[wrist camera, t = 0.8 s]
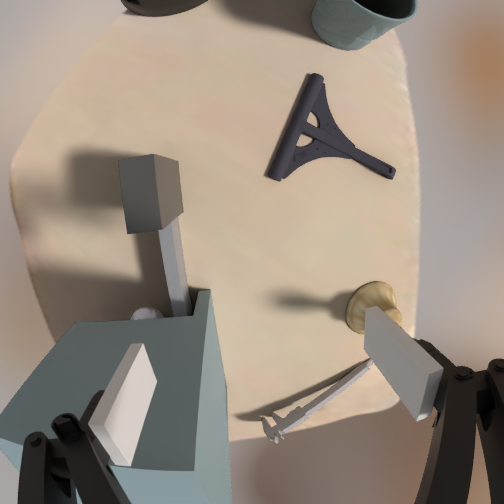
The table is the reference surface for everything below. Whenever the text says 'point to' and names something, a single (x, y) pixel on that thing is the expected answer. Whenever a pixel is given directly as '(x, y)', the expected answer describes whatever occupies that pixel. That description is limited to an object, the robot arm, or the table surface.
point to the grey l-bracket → (158, 216)
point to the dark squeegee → (318, 137)
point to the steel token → (146, 313)
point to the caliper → (311, 405)
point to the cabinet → (160, 409)
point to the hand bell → (372, 305)
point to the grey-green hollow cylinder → (358, 20)
